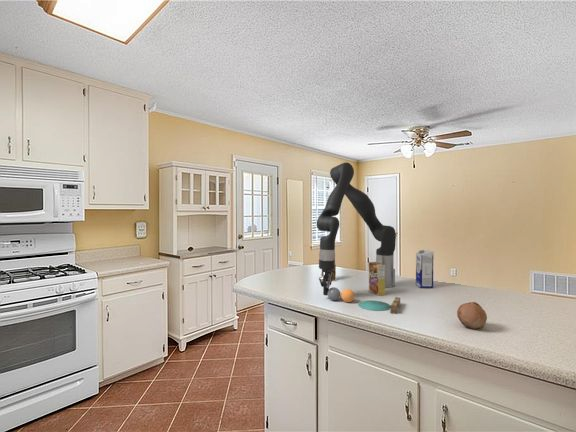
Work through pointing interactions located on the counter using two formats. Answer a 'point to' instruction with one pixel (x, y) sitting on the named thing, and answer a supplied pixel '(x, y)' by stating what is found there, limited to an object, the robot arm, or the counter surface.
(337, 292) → the gray ball
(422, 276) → the milk carton
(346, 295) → the orange ball
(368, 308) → the teal mark
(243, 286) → the counter surface
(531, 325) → the counter surface
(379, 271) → the candy box
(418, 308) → the counter surface
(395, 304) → the stop bar
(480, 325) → the brown oval lump
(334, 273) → the condiment
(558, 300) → the counter surface
